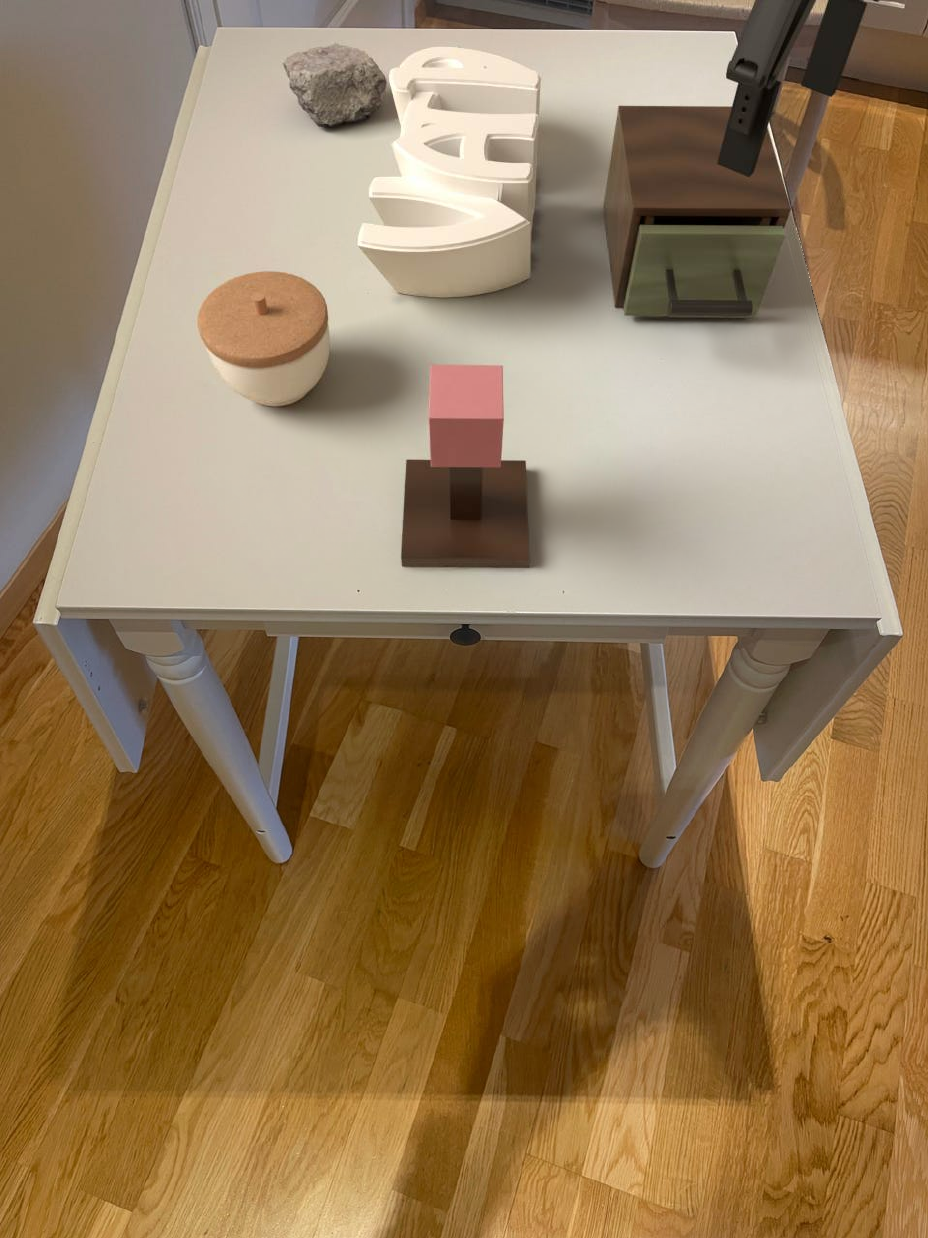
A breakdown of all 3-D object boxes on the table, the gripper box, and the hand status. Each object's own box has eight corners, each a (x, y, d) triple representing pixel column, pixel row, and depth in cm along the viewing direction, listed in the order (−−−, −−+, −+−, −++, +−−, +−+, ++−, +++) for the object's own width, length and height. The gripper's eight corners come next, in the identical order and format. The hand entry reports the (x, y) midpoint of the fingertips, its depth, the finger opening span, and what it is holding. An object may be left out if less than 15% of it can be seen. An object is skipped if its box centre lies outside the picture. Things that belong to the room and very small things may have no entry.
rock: (391, 143, 102) (383, 72, 104) (389, 83, 94) (380, 8, 96) (293, 149, 101) (287, 77, 103) (282, 88, 93) (276, 12, 95)
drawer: (765, 358, 80) (797, 276, 72) (629, 357, 80) (647, 275, 72) (733, 219, 90) (758, 135, 82) (612, 219, 90) (626, 134, 82)
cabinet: (755, 308, 85) (791, 208, 75) (614, 307, 85) (633, 207, 75) (732, 207, 92) (761, 106, 83) (602, 207, 92) (618, 105, 83)
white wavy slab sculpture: (520, 339, 82) (528, 240, 73) (348, 322, 83) (334, 222, 74) (552, 127, 100) (561, 26, 91) (410, 115, 101) (405, 14, 92)
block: (500, 467, 63) (503, 418, 58) (430, 467, 63) (428, 417, 58) (499, 415, 65) (502, 364, 61) (432, 415, 65) (430, 364, 61)
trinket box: (353, 406, 78) (341, 322, 70) (235, 440, 76) (208, 357, 68) (318, 328, 83) (303, 241, 75) (206, 358, 81) (178, 271, 73)
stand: (528, 567, 69) (536, 495, 61) (401, 566, 69) (394, 494, 61) (525, 469, 74) (532, 391, 67) (406, 468, 74) (400, 390, 67)
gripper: (920, -311, 56) (807, 44, 74) (727, -192, 46) (652, 185, 64) (1036, -286, 54) (890, 74, 72) (859, -155, 44) (742, 225, 62)
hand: (778, 127), depth 68 cm, fingers open, 13 cm apart
